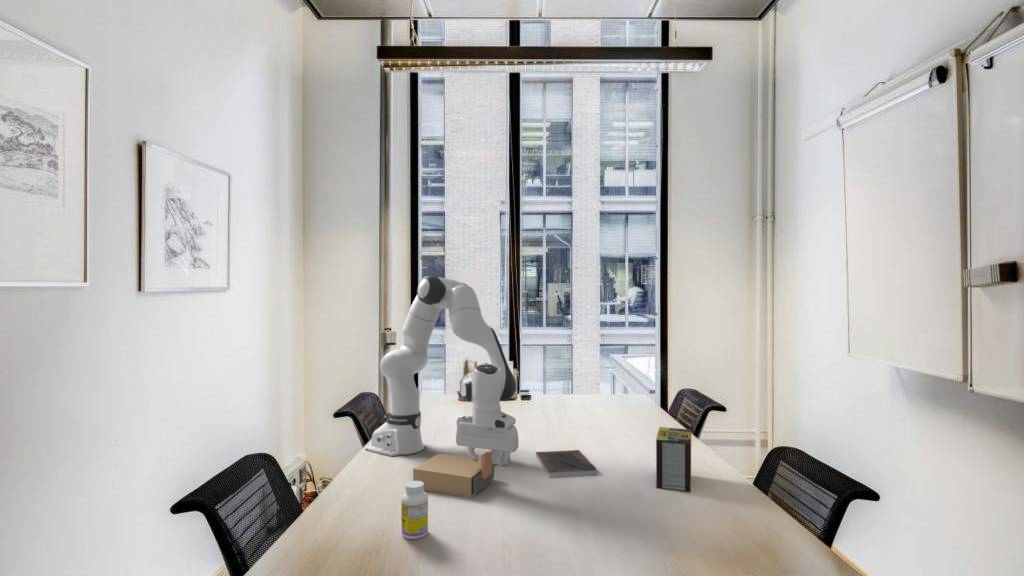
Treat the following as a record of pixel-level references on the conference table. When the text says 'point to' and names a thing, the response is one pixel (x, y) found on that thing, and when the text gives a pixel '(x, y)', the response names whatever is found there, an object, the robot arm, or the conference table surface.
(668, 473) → the protein box
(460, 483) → the sleeve
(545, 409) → the conference table surface
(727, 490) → the conference table surface
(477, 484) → the tray
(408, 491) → the supplement bottle
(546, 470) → the picture frame
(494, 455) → the syrup box
